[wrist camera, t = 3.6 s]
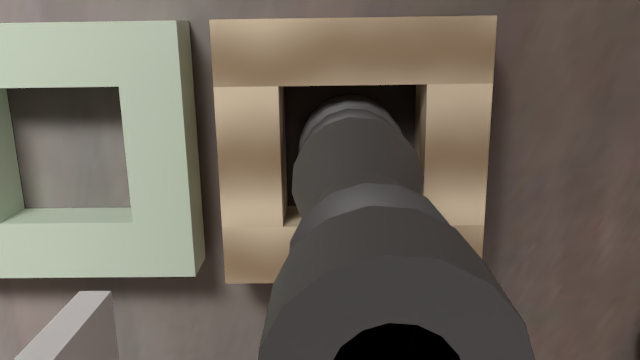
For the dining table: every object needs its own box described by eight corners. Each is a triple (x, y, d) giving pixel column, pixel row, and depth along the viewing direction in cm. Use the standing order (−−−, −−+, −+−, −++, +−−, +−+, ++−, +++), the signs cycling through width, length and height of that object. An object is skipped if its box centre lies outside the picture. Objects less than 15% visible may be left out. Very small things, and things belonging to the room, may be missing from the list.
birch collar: (222, 20, 34) (209, 19, 30) (477, 16, 34) (497, 15, 30) (235, 257, 38) (225, 283, 34) (464, 255, 38) (480, 281, 34)
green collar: (-62, 24, 34) (-98, 24, 31) (189, 21, 34) (176, 20, 31) (-20, 259, 38) (-49, 278, 35) (205, 257, 38) (195, 276, 35)
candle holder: (412, 109, 35) (599, 288, 11) (383, 202, 37) (489, 539, 12) (315, 82, 35) (284, 204, 11) (289, 177, 36) (211, 473, 12)
